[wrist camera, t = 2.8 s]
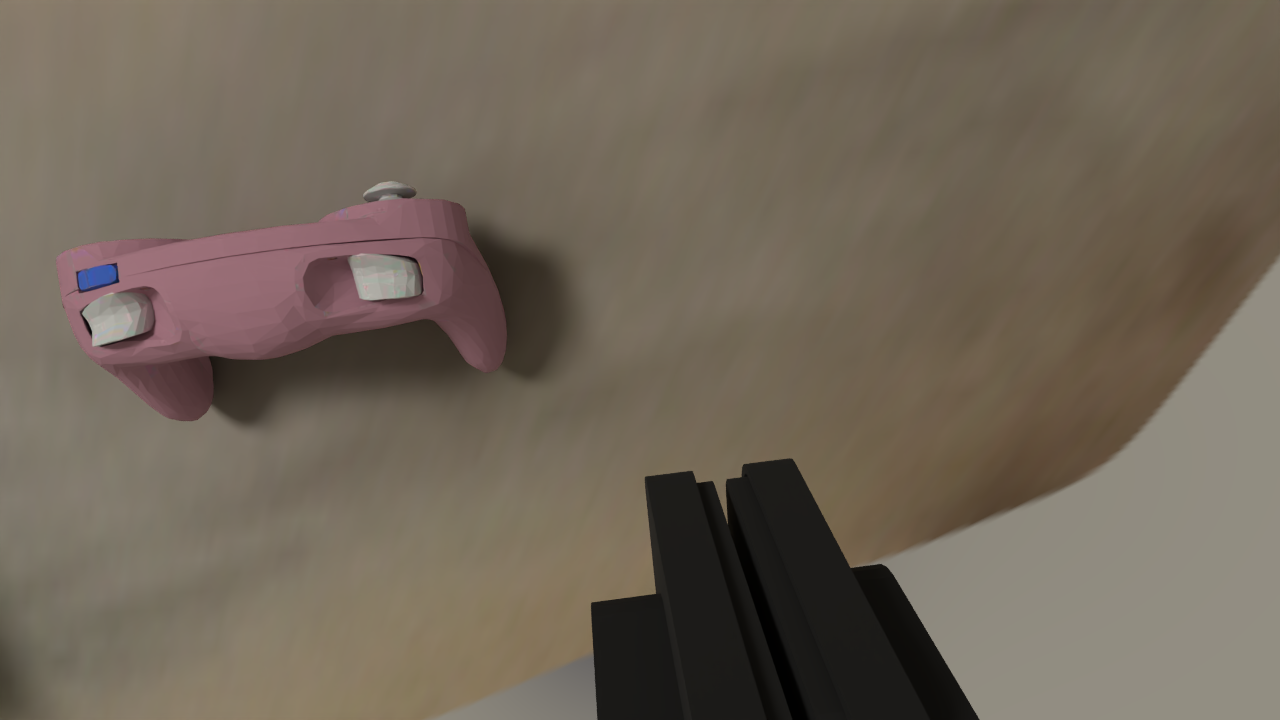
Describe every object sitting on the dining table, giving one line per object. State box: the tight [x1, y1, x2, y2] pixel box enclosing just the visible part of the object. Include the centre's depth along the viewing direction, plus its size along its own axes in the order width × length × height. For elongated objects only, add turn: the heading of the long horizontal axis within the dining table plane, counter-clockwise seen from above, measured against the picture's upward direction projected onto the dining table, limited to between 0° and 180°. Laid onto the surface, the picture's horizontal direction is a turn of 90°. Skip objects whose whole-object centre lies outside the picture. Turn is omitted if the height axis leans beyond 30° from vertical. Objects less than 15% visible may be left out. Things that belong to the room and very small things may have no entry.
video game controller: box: [56, 181, 507, 421], centre depth 21 cm, size 10×5×7 cm, turn 98°
